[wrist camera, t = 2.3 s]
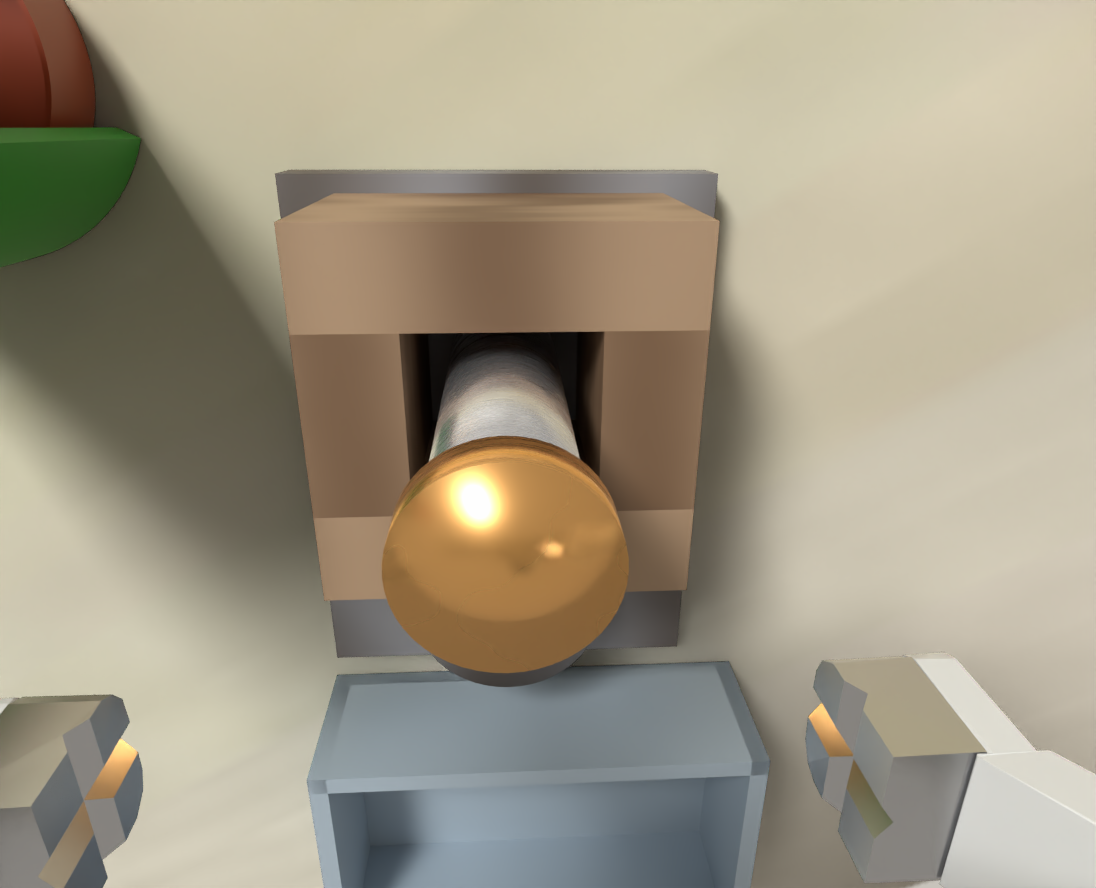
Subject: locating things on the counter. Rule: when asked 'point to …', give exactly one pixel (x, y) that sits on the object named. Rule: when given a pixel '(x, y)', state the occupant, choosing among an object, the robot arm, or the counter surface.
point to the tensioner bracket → (497, 307)
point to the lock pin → (504, 519)
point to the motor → (52, 134)
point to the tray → (540, 780)
